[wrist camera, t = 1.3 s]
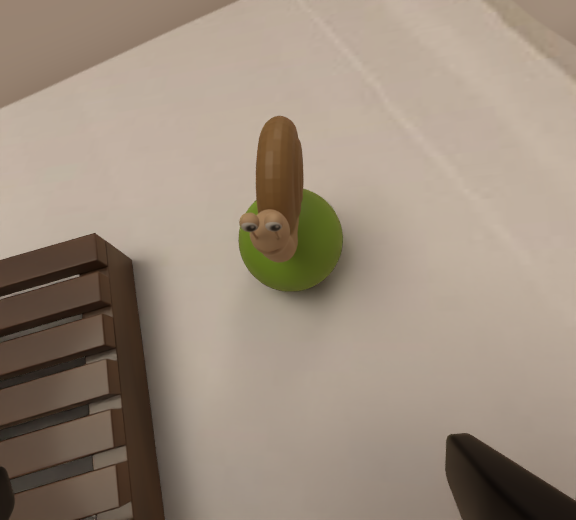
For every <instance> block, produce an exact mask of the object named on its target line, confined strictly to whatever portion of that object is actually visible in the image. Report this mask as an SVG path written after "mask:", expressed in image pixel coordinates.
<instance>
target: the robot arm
mask: <svg viewBox="0 0 576 520" xmlns="http://www.w3.org/2000/svg"><path fill="white" fill-rule="evenodd" d="M445 471H446V477H447V481H448V483H449V486H450V489H451V491H452V494H453V496H454V499H455V502H456V504H457V507H458V509H459V512H460V515H461V517H462V520H576V501H575V500H574V499H572V498H570V497H569V496H567V495H566V494H564V493H562V492H561V491H559V490H558V489H556V488H555V487H553V486H551V485H550V484H548V483H547V482H545V481H543V480H542V479H540V478H539V477H537V476H536V475H534V474H532V473H531V472H529V471H528V470H526V469H524V468H523V467H521V466H520V465H518V464H517V463H515V462H513V461H512V460H510V459H509V458H507V457H505V456H504V455H502V454H501V453H499V452H498V451H496V450H494V449H493V448H491V447H490V446H488V445H486V444H485V443H483V442H482V441H480V440H479V439H477V438H475V437H474V436H472V435H470V434H468V433H461V434H450V435H449V436H448V437H447V440H446V461H445ZM14 505H15V497H14V493H13V490H12V486H11V483H10V479H9V476H8V472H7V470H6V469H5V468H4V467H2V466H0V520H9V518H10V516H11V514H12V512H13V509H14Z"/></svg>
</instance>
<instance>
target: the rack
mask: <svg viewBox="0 0 576 520" xmlns="http://www.w3.org/2000/svg"><path fill="white" fill-rule="evenodd" d="M78 274H79V276H80V277H77V278H74V279H70V280H67V281H63V282H60V283H56V284H53V285H49V286H46V287H42V288H39V289H35V290H32V291H29V292H25V293H22V294H18V295H15V296H11V297H8V298H4V299H1V300H0V337H3V336H6V335H10V334H13V333H17V332H20V331H24V330H27V329H31V328H34V327H38V326H41V325H44V324H48V323H51V322H55V321H58V320H62V319H65V318H69V317H72V316H75V315H79V314H82V319H80V320H77V321H73V322H70V323H66V324H63V325H60V326H56V327H53V328H49V329H46V330H42V331H39V332H35V333H32V334H29V335H25V336H22V337H18V338H15V339H11V340H8V341H4V342H1V343H0V381H4V380H7V379H10V378H14V377H17V376H21V375H24V374H28V373H31V372H34V371H38V370H41V369H45V368H48V367H52V366H55V365H58V364H62V363H65V362H69V361H72V360H76V359H79V358H82V357H85V361H86V365H82V366H79V367H76V368H72V369H69V370H65V371H62V372H58V373H55V374H52V375H48V376H45V377H41V378H38V379H34V380H31V381H28V382H24V383H21V384H17V385H14V386H11V387H7V388H4V389H0V430H1V429H5V428H8V427H11V426H15V425H18V424H22V423H25V422H28V421H32V420H35V419H39V418H42V417H45V416H49V415H52V414H56V413H59V412H62V411H66V410H69V409H73V408H76V407H79V406H83V405H86V404H89V415H87V416H84V417H81V418H77V419H74V420H70V421H67V422H64V423H60V424H57V425H53V426H50V427H47V428H43V429H40V430H36V431H33V432H30V433H26V434H23V435H20V436H16V437H13V438H9V439H6V440H3V441H0V466H2V467H4V468H5V469H6V470H7V472H8V476H9V479H10V480H11V479H14V478H18V477H21V476H24V475H28V474H31V473H34V472H38V471H41V470H45V469H48V468H51V467H55V466H58V465H61V464H65V463H68V462H72V461H75V460H78V459H82V458H85V457H88V456H92V461H93V471H89V472H86V473H83V474H79V475H76V476H72V477H69V478H66V479H62V480H59V481H56V482H52V483H49V484H46V485H42V486H39V487H35V488H32V489H29V490H25V491H22V492H19V493H15V494H14V497H15V505H14V509H13V512H12V514H11V516H10V518H9V520H80V519H83V518H87V517H90V516H93V515H96V518H97V520H165V517H164V510H163V502H162V494H161V486H160V478H159V470H158V463H157V455H156V447H155V439H154V431H153V424H152V416H151V408H150V400H149V392H148V384H147V377H146V369H145V361H144V353H143V345H142V337H141V330H140V322H139V314H138V306H137V298H136V290H135V283H134V275H133V267H132V260H131V259H130V258H129V257H127V256H126V255H125V254H123V253H122V252H121V251H119V250H118V249H116V248H115V247H114V246H112V245H111V244H110V243H108V242H107V241H105V240H104V239H102V238H101V237H100V236H98V235H97V234H96V233H93V234H90V235H86V236H83V237H79V238H76V239H72V240H69V241H65V242H62V243H58V244H55V245H51V246H48V247H44V248H41V249H37V250H34V251H30V252H27V253H23V254H20V255H16V256H13V257H9V258H6V259H2V260H0V297H1V296H5V295H8V294H12V293H15V292H19V291H22V290H26V289H29V288H33V287H36V286H40V285H43V284H47V283H50V282H54V281H57V280H60V279H64V278H67V277H71V276H74V275H78Z"/></svg>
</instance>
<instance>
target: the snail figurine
mask: <svg viewBox="0 0 576 520" xmlns="http://www.w3.org/2000/svg"><path fill="white" fill-rule="evenodd" d="M256 199H257V200H256V201H255V202H254V203H253V204H252V205H251V206H250V208H249V209H248V210H247V212H246V213H245V214H243V215H242V216H241V218H240V222H239V223H240V230H239V249H240V253H241V256H242V259H243V261H244V263H245V265H246V267H247V268H248V270H249V271H250V272H251V274H252V275H253V276H254V277H255V278H256V279H257V280H259V281H260V282H261V283H263V284H265V285H266V286H268V287H271V288H273V289H276V290H281V291H301V290H305V289H308V288H311V287H313V286H315V285H317V284H318V283H320V282H321V281H323V280H324V279H325V278H326V277H327V276H328V275H329V274H330V273H331V272H332V270H333V269H334V267H335V266H336V264H337V262H338V260H339V257H340V254H341V251H342V244H343V234H342V228H341V224H340V221H339V219H338V217H337V215H336V213H335V211H334V210H333V208H332V207H331V206H330V205H329V204H328V203H327V202H326V201H325V200H324V199H323V198H322V197H320V196H319V195H317V194H315V193H313V192H311V191H309V190H306V189H303V158H302V147H301V143H300V140H299V139H298V134H297V130H296V127H295V125H294V124H293V122H292V121H291V120H289V119H288V118H286V117H283V116H276V117H273V118H271V119H270V120H269V121H267V122H266V123H265V125H264V127H263V129H262V131H261V134H260V138H259V143H258V150H257V162H256Z"/></svg>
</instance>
